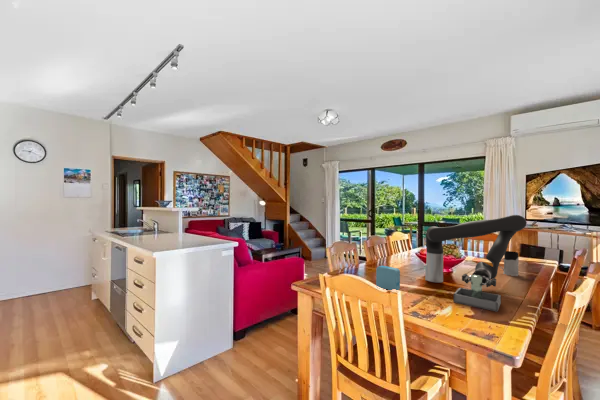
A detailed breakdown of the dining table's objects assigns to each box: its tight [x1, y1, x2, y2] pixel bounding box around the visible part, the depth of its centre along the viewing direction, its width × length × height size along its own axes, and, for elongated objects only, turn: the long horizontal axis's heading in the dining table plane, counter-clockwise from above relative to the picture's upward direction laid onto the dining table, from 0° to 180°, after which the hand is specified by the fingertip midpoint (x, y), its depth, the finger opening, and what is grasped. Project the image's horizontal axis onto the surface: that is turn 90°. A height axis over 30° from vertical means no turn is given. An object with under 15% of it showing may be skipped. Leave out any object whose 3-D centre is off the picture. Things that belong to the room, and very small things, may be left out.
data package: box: [375, 265, 401, 291], centre depth 156 cm, size 12×4×12 cm, turn 45°
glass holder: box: [499, 250, 520, 277], centre depth 191 cm, size 9×14×15 cm, turn 57°
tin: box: [470, 274, 483, 299], centre depth 136 cm, size 4×4×12 cm
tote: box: [453, 287, 502, 313], centre depth 136 cm, size 18×14×4 cm
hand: (476, 283), depth 135 cm, fingers open, 8 cm apart
